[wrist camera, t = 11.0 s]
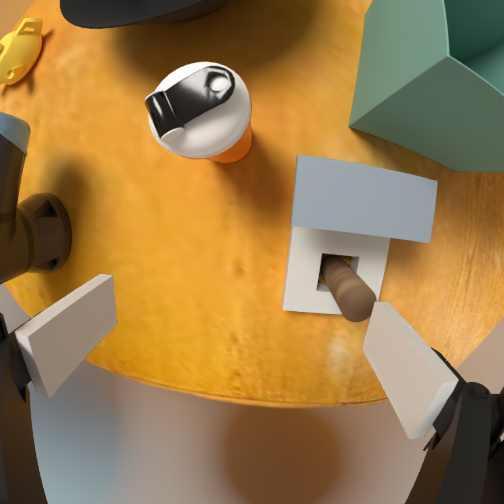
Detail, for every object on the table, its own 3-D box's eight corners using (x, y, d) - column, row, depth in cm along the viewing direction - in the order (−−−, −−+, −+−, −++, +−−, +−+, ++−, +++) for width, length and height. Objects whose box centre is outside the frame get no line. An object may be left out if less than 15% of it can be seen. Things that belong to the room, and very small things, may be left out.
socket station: (275, 299, 42) (276, 342, 30) (289, 165, 38) (298, 154, 25) (372, 306, 42) (402, 346, 29) (393, 181, 37) (437, 181, 25)
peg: (321, 253, 40) (344, 285, 27) (346, 255, 40) (380, 287, 26) (317, 279, 41) (337, 321, 27) (342, 281, 41) (371, 322, 27)
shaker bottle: (271, 147, 37) (271, 108, 18) (218, 182, 39) (169, 177, 19) (236, 99, 36) (207, 30, 16) (185, 133, 37) (117, 95, 18)
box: (456, 172, 36) (578, 176, 10) (348, 126, 36) (447, 56, 10) (462, 62, 30) (549, 18, 5) (365, 14, 30) (420, -80, 5)
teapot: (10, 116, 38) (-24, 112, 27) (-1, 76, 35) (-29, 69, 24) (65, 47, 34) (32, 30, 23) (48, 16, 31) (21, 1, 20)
